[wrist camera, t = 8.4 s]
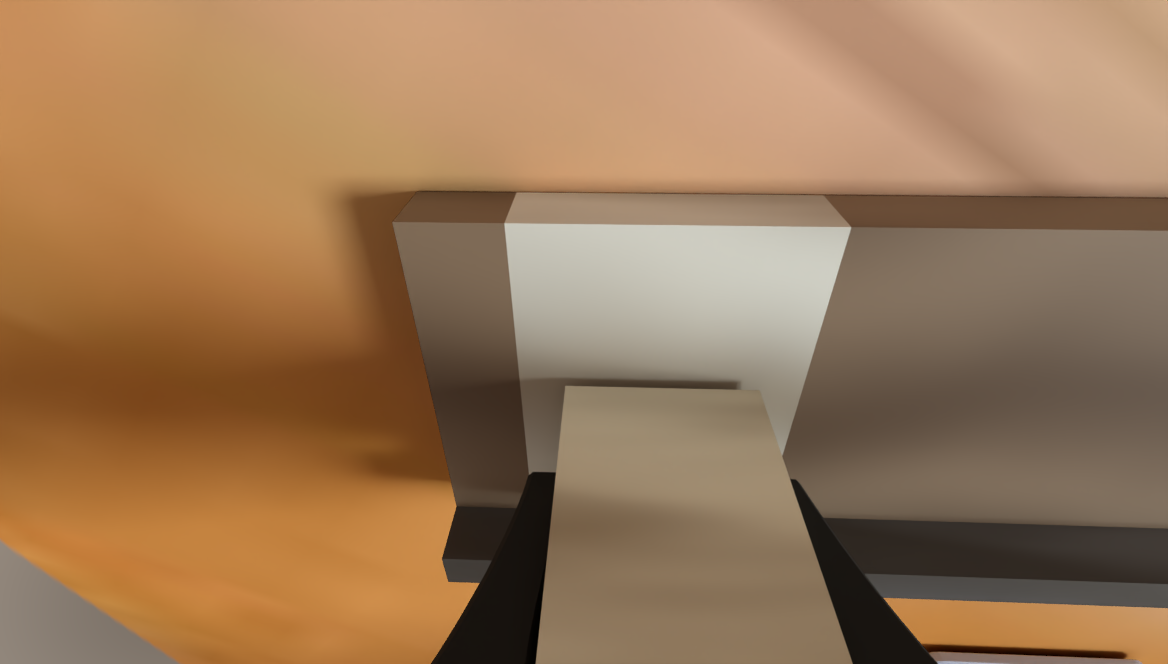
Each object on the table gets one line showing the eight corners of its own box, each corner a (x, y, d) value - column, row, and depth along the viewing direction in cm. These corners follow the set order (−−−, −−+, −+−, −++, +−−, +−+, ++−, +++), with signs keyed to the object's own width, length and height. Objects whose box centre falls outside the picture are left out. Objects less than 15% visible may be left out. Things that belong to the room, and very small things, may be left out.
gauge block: (730, 511, 13) (799, 837, 8) (569, 506, 13) (545, 822, 9) (759, 389, 11) (878, 739, 6) (565, 385, 11) (529, 723, 6)
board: (1398, 512, 15) (1553, 622, 12) (473, 484, 16) (448, 581, 13) (1827, 204, 10) (2234, 288, 7) (417, 191, 11) (360, 262, 8)
